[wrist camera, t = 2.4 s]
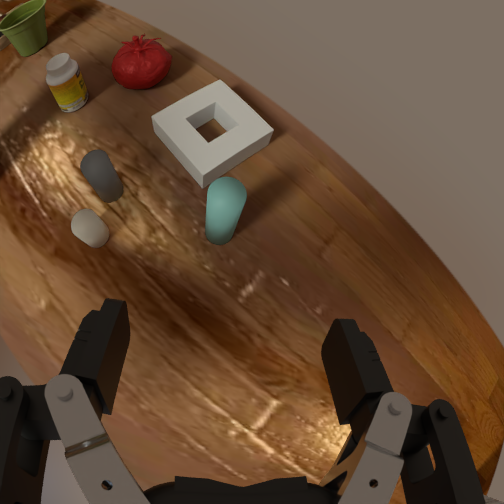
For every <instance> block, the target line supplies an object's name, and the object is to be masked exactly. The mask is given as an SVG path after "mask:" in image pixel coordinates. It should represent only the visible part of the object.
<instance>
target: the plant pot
mask: <svg viewBox="0 0 504 504" xmlns="http://www.w3.org/2000/svg"><path fill="white" fill-rule="evenodd" d="M45 3H46V0H31V1H29V2H26V3H24V4H22V5H21V6H19V7H17V8H16V9H14V10H13V11H12V12H10V13H9V14H8V15H7V16H6V17H5V18H4V19H3V20H2V21H1V22H0V31H2V33H3V34H4V35H5V36H7V38H8V39H9V40H10V42H11V43H12V44H13V46H14V47H15V48H16V49H17V51H18V52H19V53H20V55H21V56H24V57H26V56H30V55H32V54H34V53H36V52H37V51H39V49H40V48H41V47H43V46H44V45H45V44H46V43H47V40H48V38H47V31H46V23H45V14H44V12H45Z"/></svg>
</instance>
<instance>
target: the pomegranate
mask: <svg viewBox="0 0 504 504" xmlns="http://www.w3.org/2000/svg"><path fill="white" fill-rule="evenodd" d="M143 36H145V34H144V35H141V38H140V39H139V37H138V36H133V37H132V39H133V41H131V42H122V43H123V44H125V45H124V46H123V47H122V48H121V49H120V50H119V51H118V53H117V54H116V56H115V57H114V59H113V63H112V73H113V76H114V78H115V80H116V81H117V82H118V83H119V84H121V85H123V87H125V88H128V89H147V88H150V87H152V86H154V85H156V84H157V83H158V82H160V81H161V80H162V79H163V78H164V77H165V76H166V75H167V73H168V71H169V68H170V65H171V59H172V56H171V55H170V54H169V53H168V52H167V51H166V50H165V49H164V48H163V47H162V45H161V44H159V43H158V42H156V41H153V40H156V39H161V38H156V39H144V40H142V38H143Z"/></svg>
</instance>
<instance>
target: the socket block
mask: <svg viewBox="0 0 504 504" xmlns="http://www.w3.org/2000/svg"><path fill="white" fill-rule="evenodd" d="M151 118H152V123H153V128H154V133H155V134H156V135H157V136H158V137H159V138H160V140H161V141H162V142H163V143H164V144H165V145H166V147H167V148H168V149H169V150H170V151H171V152H172V154H173V155H174V156H175V157H176V158H177V159H178V161H179V162H180V163H181V164H182V165H183V166H184V168H185V169H186V170H187V171H188V172H189V173H190V175H191V176H192V177H193V178H194V179H195V180H196V182H197V183H198V184H199V185H200V186H201V187H202V189H203V188H205V187H206V186H207V185H209V184H210V183H212V182H213V181H215V180H216V179H217V178H219V177H220V176H222V175H223V174H225V173H226V172H228V171H229V170H231V169H232V168H234V167H235V166H237V165H238V164H240V163H241V162H243V161H244V160H246V159H247V158H249V157H250V156H252V155H253V154H255V153H256V152H258V151H259V150H261V149H262V148H264V147H266V146H267V145H268V144H269V141H270V139H271V136H272V134H273V131H274V129H273V128H272V127H271V126H270V125H268V124H267V123H266V122H265V121H264V120H263V119H262V118H261V117H260V116H259V115H258V114H257V113H256V112H255V111H254V110H253V109H252V108H251V107H250V106H249V105H248V104H247V103H246V102H244V101H243V100H242V99H241V98H240V97H239V96H238V95H237V94H236V93H235V92H234V91H233V90H231V89H230V88H229V87H228V86H227V85H226V84H225V83H224V82H222V81H221V80H218V81H216V82H214V83H212V84H210V85H208V86H206V87H204V88H202V89H200V90H198V91H196V92H194V93H192V94H190V95H188V96H186V97H185V98H183V99H181V100H179V101H177V102H175V103H174V104H172V105H170V106H168V107H167V108H165V109H163V110H161V111H160V112H158V113H156V114H155V115H153V116H151ZM212 119H215V120H216V121H217V122H218V123H219V124H220V125H221V126H222V127H223V128H224V129H225V130H226V131H227V132H226V133H224V134H222V135H221V136H219V137H218V138H216V139H214V140H213V141H211V142H209V143H208V142H207V141H206V140H205V139H204V138H203V137H202V136H201V135H200V134H199V133H198V132H197V131H196V128H198V127H200V126H201V125H203V124H205V123H207V122H208V121H210V120H212Z"/></svg>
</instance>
